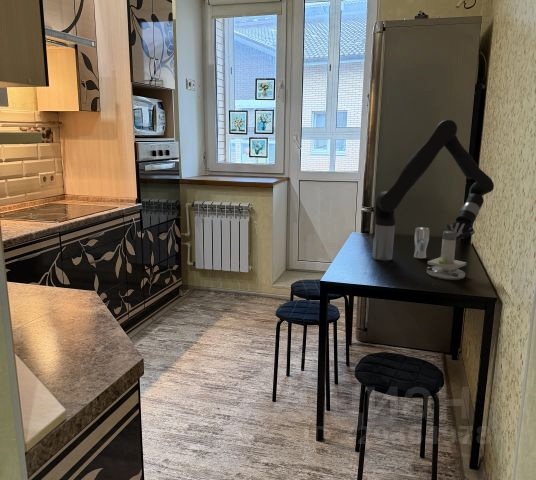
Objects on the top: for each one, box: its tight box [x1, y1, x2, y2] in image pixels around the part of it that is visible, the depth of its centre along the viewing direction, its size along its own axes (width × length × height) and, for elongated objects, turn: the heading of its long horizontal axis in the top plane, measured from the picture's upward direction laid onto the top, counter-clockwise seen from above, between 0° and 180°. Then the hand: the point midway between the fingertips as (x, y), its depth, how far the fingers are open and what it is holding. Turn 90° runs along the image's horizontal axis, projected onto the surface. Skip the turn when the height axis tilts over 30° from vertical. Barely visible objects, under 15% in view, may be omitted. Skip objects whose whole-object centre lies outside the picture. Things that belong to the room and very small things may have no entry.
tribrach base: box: [426, 265, 466, 281], centre depth 211 cm, size 16×16×4 cm
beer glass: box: [413, 226, 430, 260], centre depth 239 cm, size 7×7×15 cm
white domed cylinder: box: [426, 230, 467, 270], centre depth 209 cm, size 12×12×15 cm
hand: (452, 244), depth 210 cm, fingers closed
